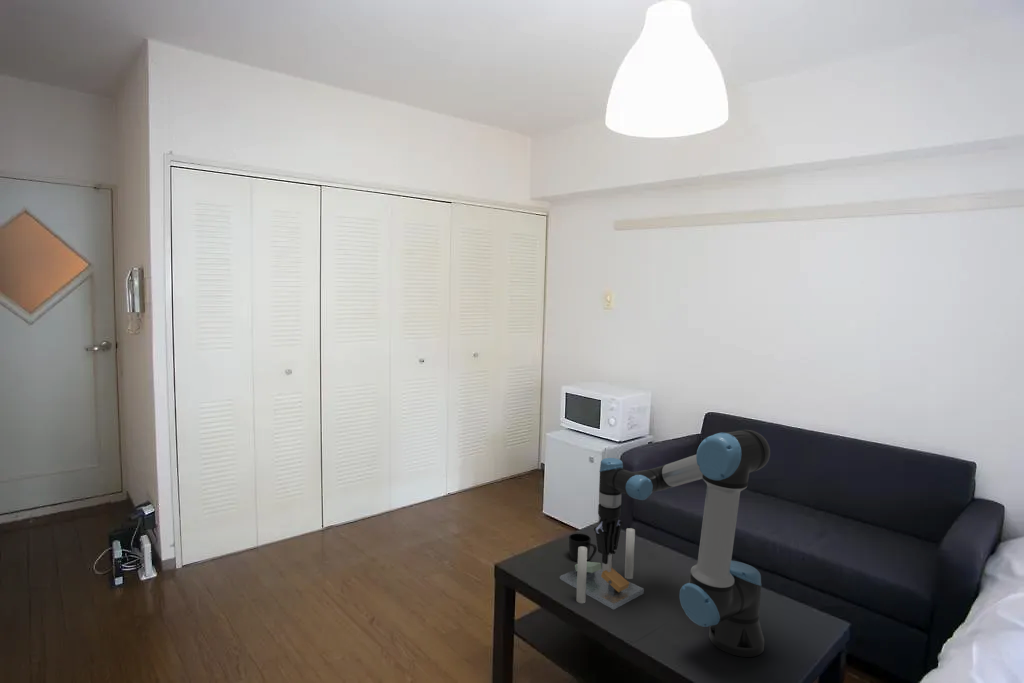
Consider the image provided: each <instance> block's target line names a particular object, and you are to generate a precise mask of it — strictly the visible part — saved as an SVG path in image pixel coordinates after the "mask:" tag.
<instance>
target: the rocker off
mask: <svg viewBox="0 0 1024 683" xmlns="http://www.w3.org/2000/svg"><path fill="white" fill-rule="evenodd" d="M601 577H602V578H603V579H604V580H605V581H607V582H608V583H609V584H610V585H611V586H612V587H613V588H614V589H615V590H617V591H618V592H620V591H622V590H624V589H626V588H628V586H629V582H630V581H629V582H628V579H626V578H625V577H623V576H622V575H621V574H620V573H619V572H617V571H616V569H614V568H613V567H611V572H607V571H606V570H605V571H603V572H602V575H601Z"/></svg>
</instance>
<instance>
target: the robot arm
mask: <svg viewBox="0 0 1024 683" xmlns="http://www.w3.org/2000/svg"><path fill="white" fill-rule="evenodd" d="M770 457H771V448H770V444H769V443H768V441H767V439H766V438H765V437H764V436H763V435H762V434H761V433H759V432H757V431H755V430H752V429H750V430H749V429H739V430H736V431H735V430H734V431H729V432H718V433H714V434H712V435H709V436H707V437H705V438H704V439H703V440H701V443H700V444H699V446H698V448H697V450H696V454H694V455H690V456H688V457H684V458H682V459H679V460H676V461H672V462H669V463H667V464H663V465H660V466H657V467H653V468H649V469H643V470H639V471H638V470H637V471H630V470H628V469H626V468H624V463H623V461H622V460H621V459H619V458H615V457H607V458H606V457H605V458H602V460H601V461H600V464H599V465H600V466H599V484H598V485H599V487H598V507H597V508H598V509H597V515H598V516H599V521H598V526H595V527H593V531H594V533H595V539H596V547H597V552H598V553H599V554H601V556H602V558H601V566H602V571H605V570H606V571H607V572H611V568H612V566H613V565H612V564H613V557H614V556H613V555H615V554H616V551H617V550H618V547H619V541H620V536H621V531H622V527H623V525H624V521H623V520H620V519H619V518H620V517H621V515H622V514H621V511H622V507H621V505H622V494H624V495H627V496H629V497H630V498H632V499H635V500H639V501H645V500H647V499H648V498H649V497H650V496H651V494H652V493H656V492H660V491H666V490H670V489H673V488H675V487H679V486H681V485H686V484H689V483H692V482H693V483H694V482H695V481H699V480H703V481H704V482H705V484H706V491H705V500H704V508H703V514H702V515H703V517H702V523H701V531H700V541H699V547H698V555H697V556H698V557H697V563H695V565H693V566H692V567H691V568H690V573H689V580H688V582H687V583H685V584H683V585H682V586H681V587H680V590H679V595H678V596H679V602H680V605H681V608H682V609H683V611H684V613H685V615H686V616H687V617H688V618H689V620H690V621H692V623H694V624H695V625H697V626H699V627H703V628H704V627H705V628H708V627H709V634H708V636H709V640H710V642H711V643H712V644H713V645H714V646H715V647H716V648H718V649H719V650H721V651H723V652H725V653H727V654H730V655H733V656H737V657H743V658H752V657H757V656H760V655H761V654H763V652H764V651H765V637H764V634H763V631H762V630H763V629H762V627H761V623H760V610H761V609H760V607H761V595H762V593H761V591H762V589H761V588H762V586H763V585H762V575H761V573H760V571H759V570H758V569H757V568H755V567H754V566H752V565H749V564H747V563H744V562H741V561H737V560H732V558H733V552H734V551H733V549H734V543H735V536H736V528H737V527H736V526H737V520H738V514H739V513H738V512H739V505H740V496H741V492H742V491H744V490H745V489H747V487H748V485H749V484H748V483H749V477H750V473H753V472H756V471H759V470H761V469H762V468H764V467H765V466H766V465H767V464H768V462H769V460H770Z"/></svg>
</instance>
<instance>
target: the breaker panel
mask: <svg viewBox="0 0 1024 683" xmlns="http://www.w3.org/2000/svg"><path fill="white" fill-rule="evenodd" d="M602 572H603V571H602V569H600V570H598V571H596V572H593V573H590V572H587V573H586V596H589V597H590V598H592V599H594V600H595V601H598V602H599V603H601V604H602V605H604V606H606V607H607V608H609V609H612V610H616V609H618V608H619V607H621V606H624V605H625V604H627V603H629V602H631V601H632V600H635V599H636V598H638V597H640V596H642V595H643V594H645V593H644V591H645V588H644V587H641V586H639V585H637V584H635V583H633V582H631V581H628V580H627V581H628V582H629V586H628V588H626V589H624V590H622V591H620V592H618V591H617V590H615V589H614V588H613V587H612V586H611V585H610V584H609V583H608V582H607V581H605V580H604V579H603V578H602V577H601V575H602ZM559 580H560V581H562V582H563V583H566V584H567V585H569V586H571V587H573V588H575V589H576V590H577V571H576V569H573V570H571V571H568V572H566V573H564V574H561V575H559Z"/></svg>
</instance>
